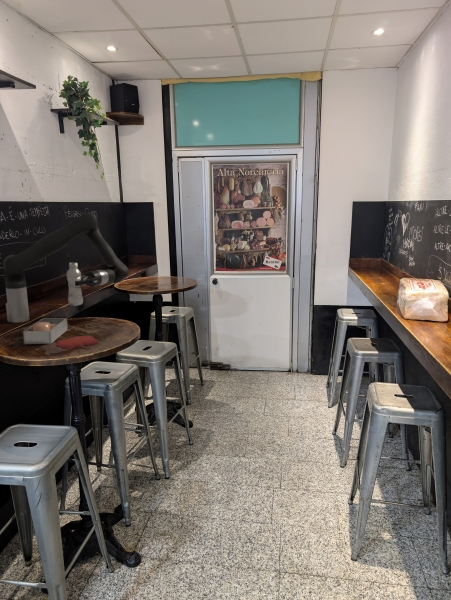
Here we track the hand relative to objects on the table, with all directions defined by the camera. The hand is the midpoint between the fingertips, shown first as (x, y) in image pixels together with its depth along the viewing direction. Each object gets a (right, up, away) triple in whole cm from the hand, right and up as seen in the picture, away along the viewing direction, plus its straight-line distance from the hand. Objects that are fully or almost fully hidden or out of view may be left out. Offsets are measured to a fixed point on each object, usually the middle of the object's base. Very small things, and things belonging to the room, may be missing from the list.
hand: (70, 283), depth 193 cm
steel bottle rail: (-8, -24, -7) cm, 27 cm away
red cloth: (+8, -27, -15) cm, 32 cm away
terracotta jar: (-8, -25, -12) cm, 29 cm away
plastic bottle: (+1, -11, +4) cm, 11 cm away
